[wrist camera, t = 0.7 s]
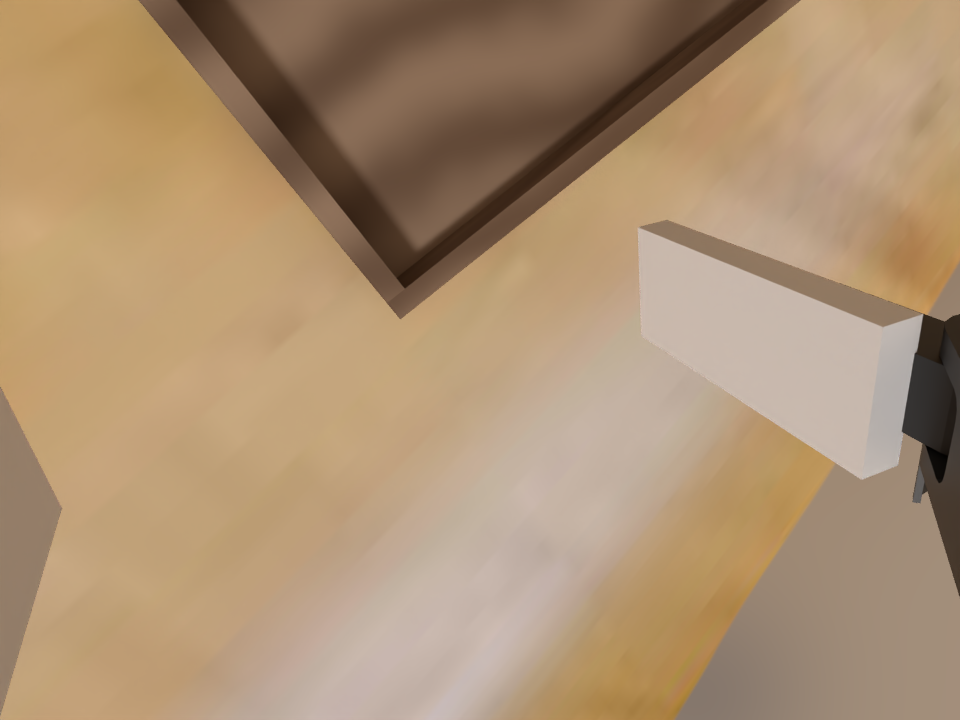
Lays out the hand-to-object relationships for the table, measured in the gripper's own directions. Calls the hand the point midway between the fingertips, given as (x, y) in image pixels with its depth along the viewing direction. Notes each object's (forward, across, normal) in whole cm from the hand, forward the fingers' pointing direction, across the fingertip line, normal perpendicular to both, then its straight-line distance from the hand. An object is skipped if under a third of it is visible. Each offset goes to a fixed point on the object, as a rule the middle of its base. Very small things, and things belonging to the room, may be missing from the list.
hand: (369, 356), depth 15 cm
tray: (+24, +13, +8) cm, 29 cm away
